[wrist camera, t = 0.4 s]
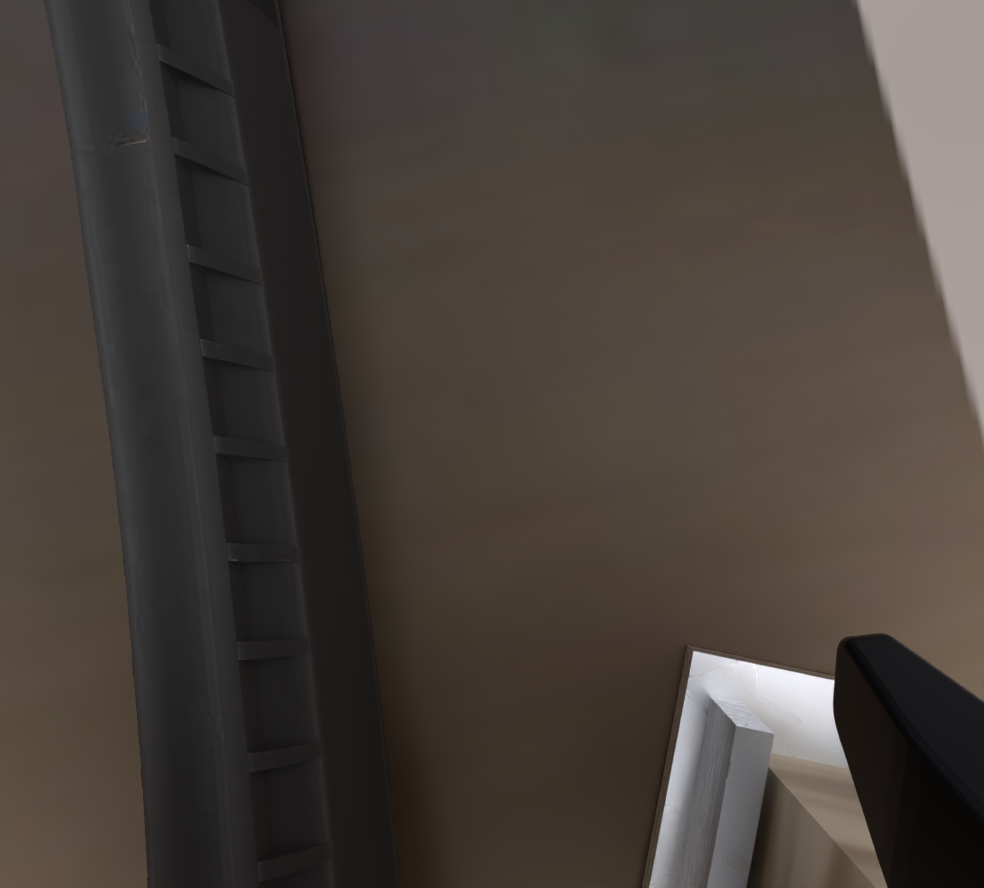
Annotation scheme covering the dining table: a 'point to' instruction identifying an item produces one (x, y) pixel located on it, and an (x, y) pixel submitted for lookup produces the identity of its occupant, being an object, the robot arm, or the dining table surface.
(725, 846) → the rack
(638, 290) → the dining table surface
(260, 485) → the black curved panel
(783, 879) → the beige rectangular block
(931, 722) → the robot arm
